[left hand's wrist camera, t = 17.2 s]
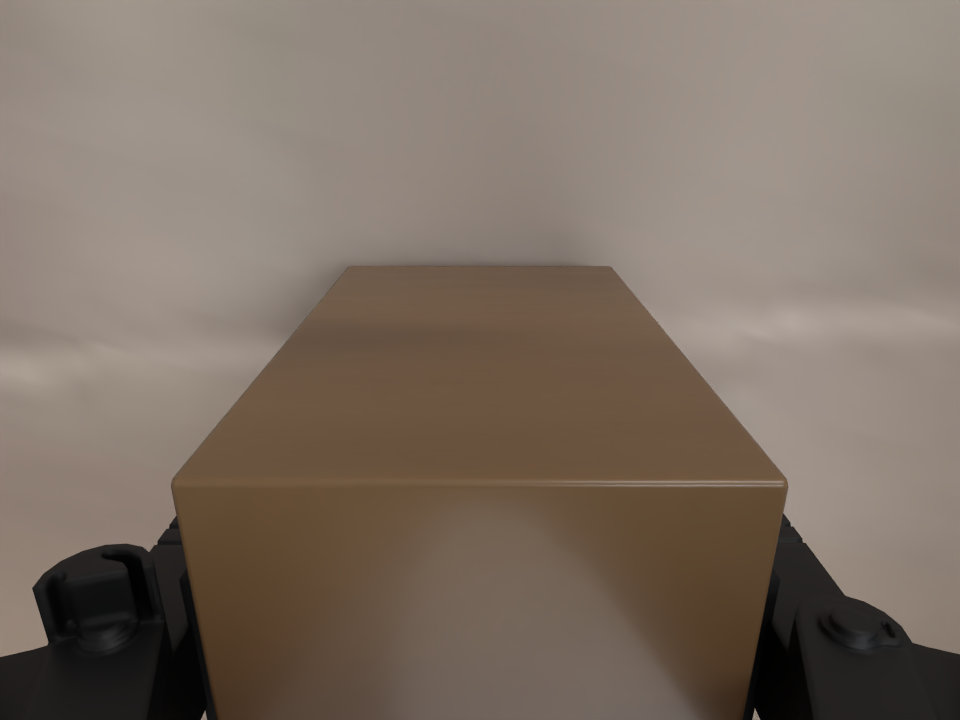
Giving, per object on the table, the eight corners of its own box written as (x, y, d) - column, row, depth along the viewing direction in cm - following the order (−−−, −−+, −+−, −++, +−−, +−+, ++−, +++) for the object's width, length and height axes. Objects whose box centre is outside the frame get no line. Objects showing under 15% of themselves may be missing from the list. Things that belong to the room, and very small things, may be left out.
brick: (592, 527, 17) (702, 936, 9) (367, 527, 17) (256, 937, 9) (612, 265, 15) (793, 481, 6) (347, 265, 15) (166, 481, 6)
